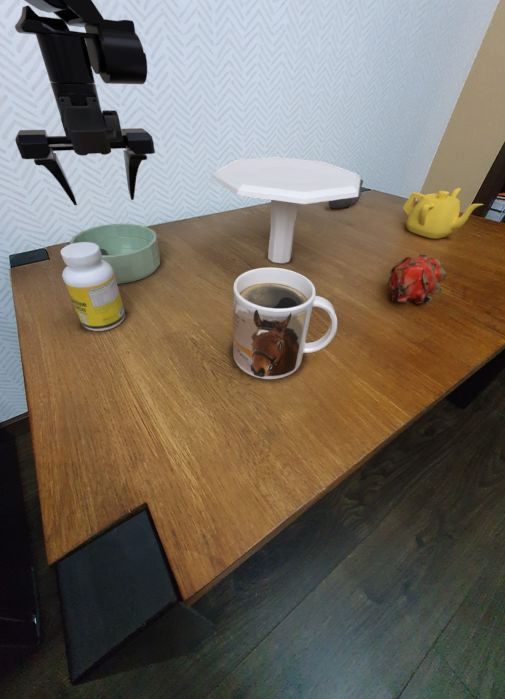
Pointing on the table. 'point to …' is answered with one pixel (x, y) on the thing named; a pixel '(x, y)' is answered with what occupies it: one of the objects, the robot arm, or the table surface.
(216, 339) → the table surface
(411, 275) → the dragon fruit
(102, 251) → the stick
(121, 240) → the bowl
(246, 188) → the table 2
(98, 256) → the pill bottle
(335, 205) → the perforated stone tool
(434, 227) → the teapot
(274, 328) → the mug
